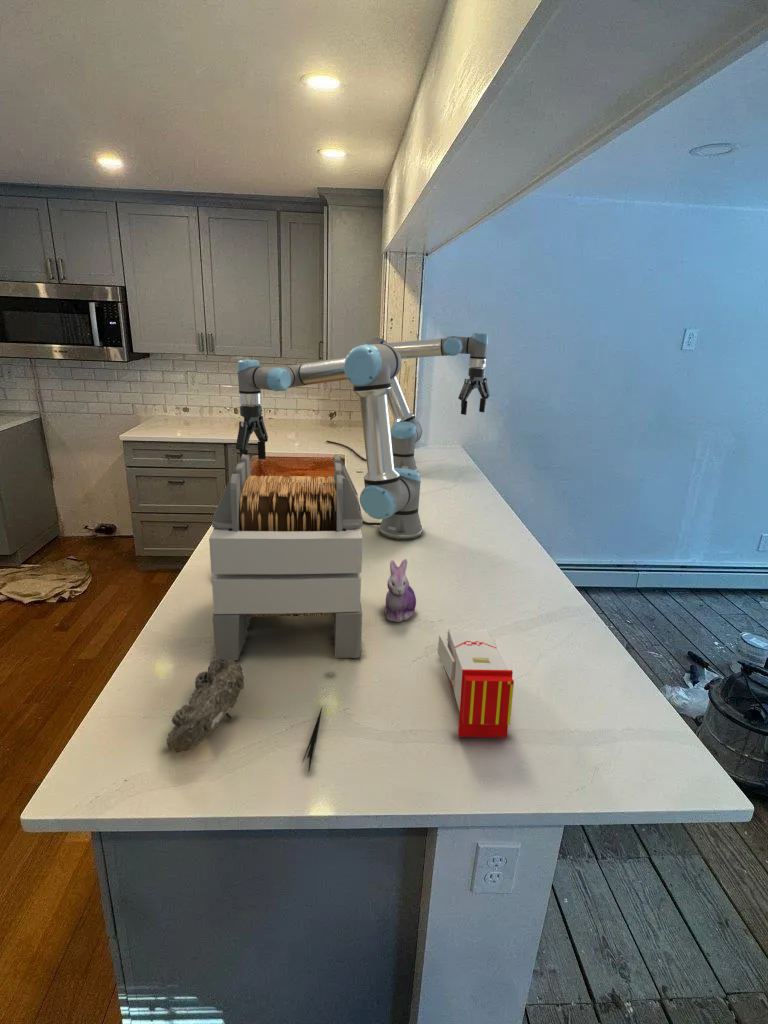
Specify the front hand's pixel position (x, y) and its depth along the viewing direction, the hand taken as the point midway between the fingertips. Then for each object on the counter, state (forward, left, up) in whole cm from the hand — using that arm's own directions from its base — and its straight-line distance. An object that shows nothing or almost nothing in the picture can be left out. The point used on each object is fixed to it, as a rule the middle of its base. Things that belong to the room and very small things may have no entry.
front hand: (253, 463), depth 208 cm
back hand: (+5, +114, +10) cm, 115 cm away
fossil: (+96, -61, -19) cm, 116 cm away
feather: (+109, -46, -19) cm, 120 cm away
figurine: (+89, -7, -19) cm, 91 cm away
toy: (+121, -16, -19) cm, 124 cm away
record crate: (+75, -31, -19) cm, 84 cm away
